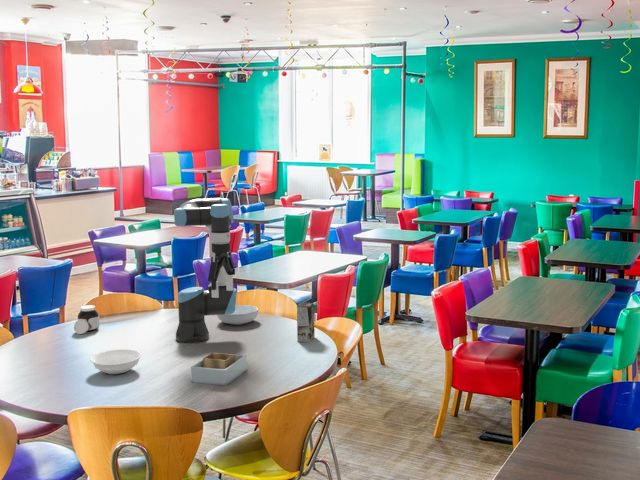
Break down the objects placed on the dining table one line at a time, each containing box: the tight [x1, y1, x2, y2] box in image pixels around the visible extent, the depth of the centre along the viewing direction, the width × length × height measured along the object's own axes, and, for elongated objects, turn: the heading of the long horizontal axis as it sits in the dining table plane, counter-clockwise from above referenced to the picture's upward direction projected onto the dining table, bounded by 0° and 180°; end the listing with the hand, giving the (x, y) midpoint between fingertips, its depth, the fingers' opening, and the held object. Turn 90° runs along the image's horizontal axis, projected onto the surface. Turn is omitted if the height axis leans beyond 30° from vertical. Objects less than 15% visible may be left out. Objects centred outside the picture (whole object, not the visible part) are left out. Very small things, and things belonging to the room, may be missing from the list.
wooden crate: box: [202, 352, 236, 370], centre depth 297 cm, size 10×8×7 cm
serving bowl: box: [216, 304, 259, 326], centre depth 378 cm, size 21×21×7 cm
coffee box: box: [296, 302, 316, 343], centre depth 346 cm, size 9×6×16 cm
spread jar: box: [73, 304, 100, 335], centre depth 365 cm, size 12×11×12 cm
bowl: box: [90, 349, 142, 375], centre depth 304 cm, size 20×20×6 cm
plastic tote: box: [190, 352, 248, 387], centre depth 297 cm, size 14×19×6 cm
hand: (222, 294), depth 311 cm, fingers open, 13 cm apart
